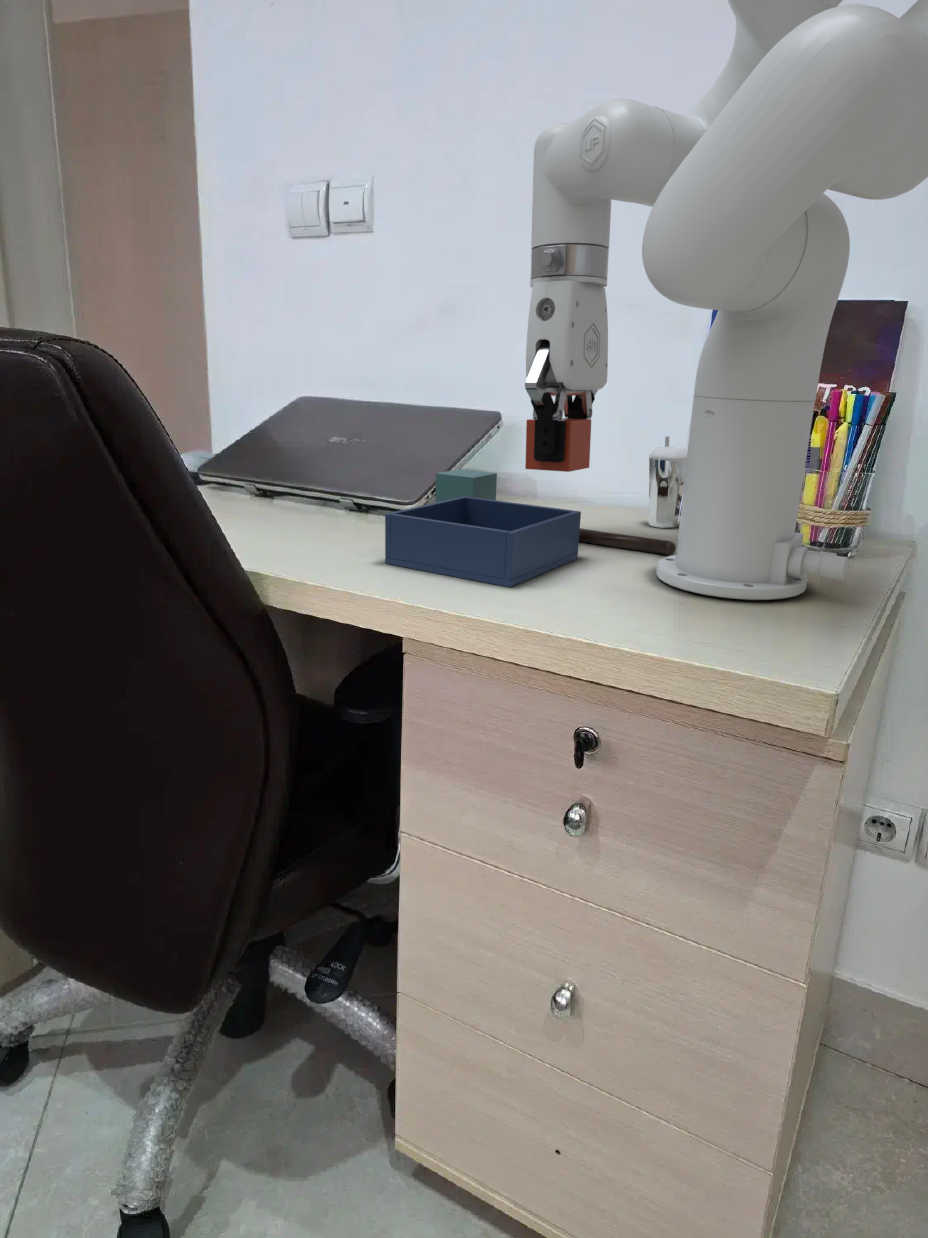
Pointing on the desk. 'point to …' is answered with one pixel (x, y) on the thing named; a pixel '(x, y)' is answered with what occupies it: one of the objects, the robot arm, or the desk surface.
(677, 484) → the milkshake
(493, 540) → the basket
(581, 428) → the block red
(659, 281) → the robot arm
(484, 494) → the block teal
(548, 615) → the desk surface
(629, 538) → the dark brown dowel rod
